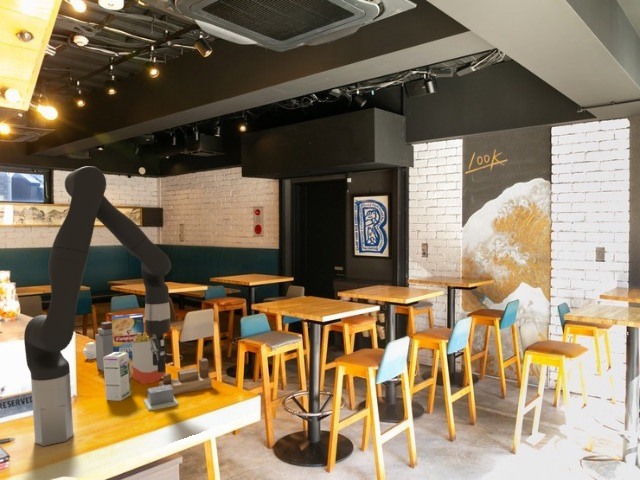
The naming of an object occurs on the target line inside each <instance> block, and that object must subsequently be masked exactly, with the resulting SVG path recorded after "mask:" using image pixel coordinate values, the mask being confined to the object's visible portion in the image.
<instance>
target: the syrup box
mask: <svg viewBox="0 0 640 480" xmlns="http://www.w3.org/2000/svg"><path fill="white" fill-rule="evenodd" d="M103 362H104V371H103V373H104V388H105V401H115V402H116V401H117V402H119V401H120V402H122V401H123V400H124V399H126V398H128V397H129V396H132V390H131V389H132V388H131V387H132V385H131V377H130V368H129V354H128V352H113V353H112V354H109V355H107V356H105V357H103Z"/></svg>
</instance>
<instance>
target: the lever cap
mask: <svg viewBox="0 0 640 480" xmlns="http://www.w3.org/2000/svg"><path fill="white" fill-rule="evenodd" d="M146 389H147V391H146V392H147V393H146V394H147V399H148V402H149V404H150V406H154V405H159V404H164V403H169V402H174V398H175V396H174V394H173V388H172V387H171V385H165V386H159V385H158V386H154V387H149V388H146Z"/></svg>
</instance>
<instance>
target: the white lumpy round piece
mask: <svg viewBox="0 0 640 480" xmlns="http://www.w3.org/2000/svg"><path fill="white" fill-rule="evenodd" d="M82 352H83V355H84V357H85V358H86V360H95V359H96V342H95V341H93V342H91V341H90V342H88V343H86V345H85V347H84V348H83V350H82Z"/></svg>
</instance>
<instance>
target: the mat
mask: <svg viewBox="0 0 640 480" xmlns="http://www.w3.org/2000/svg"><path fill="white" fill-rule="evenodd" d="M143 404H144V405H145V406H146V409H147V411H148V412H150V411H155V410H156V411H157V410H159V409H160V410H161V409H165V408H170V407H174V406H179V405H180V404H179V401H177V399H176V398H175V397H174V402H169V403H164V404H159V405H154V406H150V404H149V402H148V398H145V399H143Z"/></svg>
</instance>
